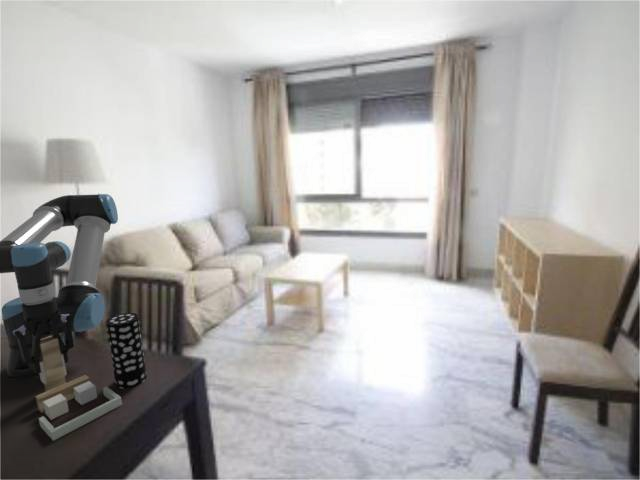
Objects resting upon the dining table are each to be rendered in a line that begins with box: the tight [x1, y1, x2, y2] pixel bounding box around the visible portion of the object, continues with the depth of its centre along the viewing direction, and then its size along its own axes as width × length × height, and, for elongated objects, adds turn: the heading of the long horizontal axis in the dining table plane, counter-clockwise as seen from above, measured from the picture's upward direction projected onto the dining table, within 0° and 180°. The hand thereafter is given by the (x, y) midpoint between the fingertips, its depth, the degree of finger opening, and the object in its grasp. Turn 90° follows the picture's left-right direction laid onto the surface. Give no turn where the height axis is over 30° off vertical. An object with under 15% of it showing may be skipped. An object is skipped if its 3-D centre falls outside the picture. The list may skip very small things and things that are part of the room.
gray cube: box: [73, 381, 98, 406], centre depth 102 cm, size 4×4×4 cm
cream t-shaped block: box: [35, 336, 91, 414], centre depth 102 cm, size 10×12×16 cm
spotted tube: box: [105, 312, 148, 389], centre depth 108 cm, size 8×8×20 cm
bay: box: [38, 385, 123, 442], centre depth 95 cm, size 8×16×2 cm, turn 143°
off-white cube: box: [43, 394, 69, 421], centre depth 96 cm, size 4×4×4 cm
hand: (54, 377), depth 105 cm, fingers closed on cream t-shaped block, 4 cm apart
